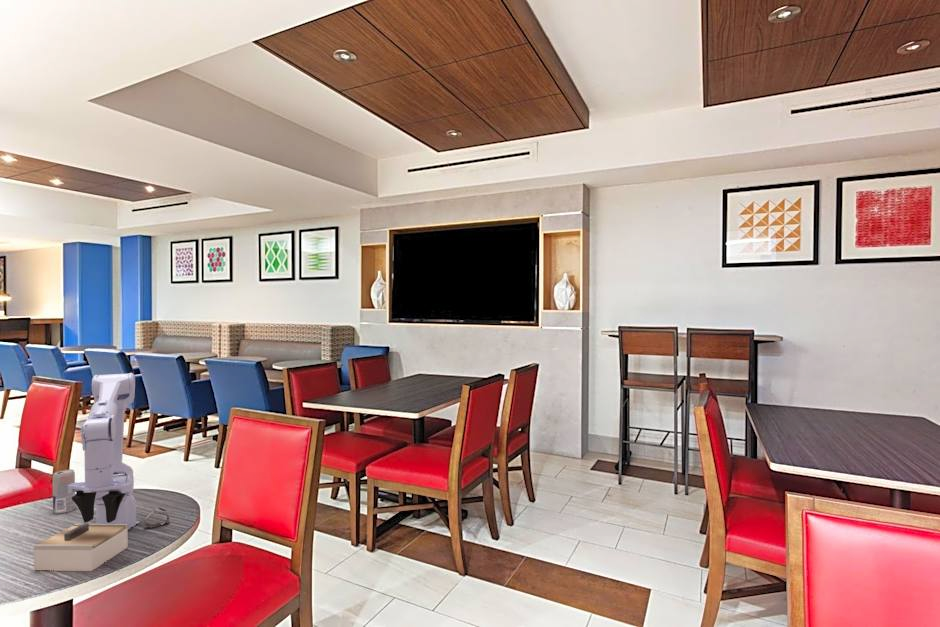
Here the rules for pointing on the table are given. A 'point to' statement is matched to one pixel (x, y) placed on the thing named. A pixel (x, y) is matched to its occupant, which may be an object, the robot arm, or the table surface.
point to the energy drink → (63, 491)
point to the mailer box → (80, 553)
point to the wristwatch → (153, 513)
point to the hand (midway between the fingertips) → (100, 520)
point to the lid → (83, 535)
